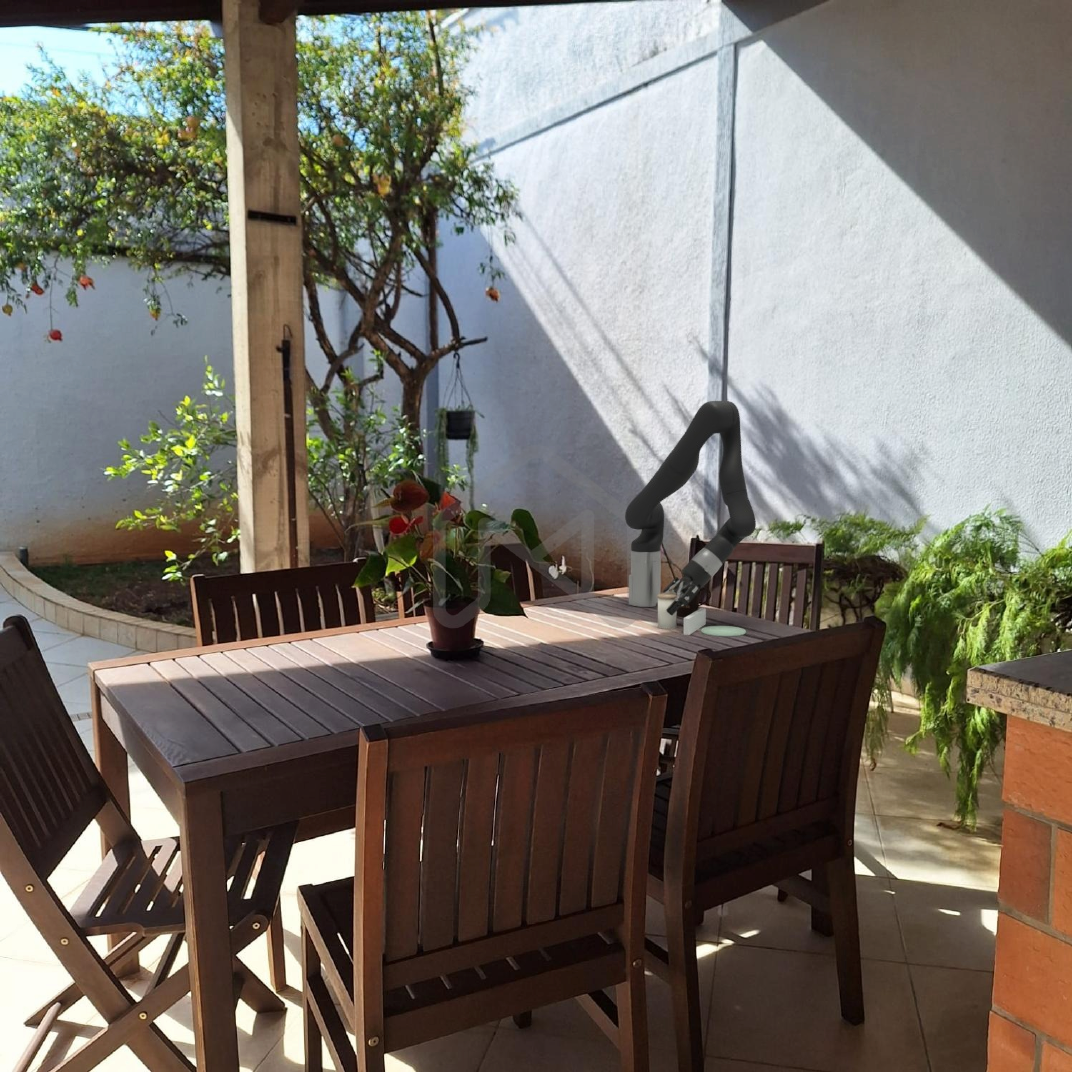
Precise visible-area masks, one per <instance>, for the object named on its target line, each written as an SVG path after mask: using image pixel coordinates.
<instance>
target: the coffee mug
mask: <svg viewBox="0 0 1072 1072" xmlns="http://www.w3.org/2000/svg"><path fill="white" fill-rule="evenodd" d="M699 589H700V588H699ZM702 591H707V593H708V598H707V599H706V600H704V601H703V602H701V603H700V598H701V593H702ZM711 592H712V591H711V590H710V589H709V588H707V587H703V588H701V589H700V591H699V592H698V593H697V594H696V596H695V597H694V598H693V599H692V600H691V601H690V602H689V604H688V605H686V606H685V605H683V606H681V607H680V608H679V609H678V610H677V617H680V618H685V617H687V616H688V615H690V614H692V613H693V612H695V611H697V610H698V609H700V608H699V607H701V606H704V605H705V604H706V603H708V602H709V601H710V600H711V598H712V593H711Z"/></svg>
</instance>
